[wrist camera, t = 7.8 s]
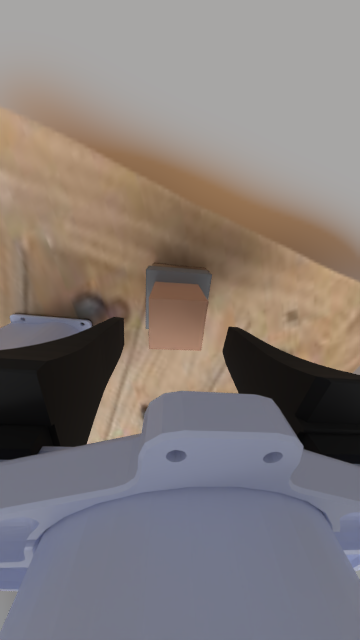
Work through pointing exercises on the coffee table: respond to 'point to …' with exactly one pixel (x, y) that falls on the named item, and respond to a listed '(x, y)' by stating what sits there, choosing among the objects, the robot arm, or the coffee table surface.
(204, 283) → the charcoal slab
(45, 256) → the coffee table surface
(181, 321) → the terracotta block
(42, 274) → the coffee table surface
